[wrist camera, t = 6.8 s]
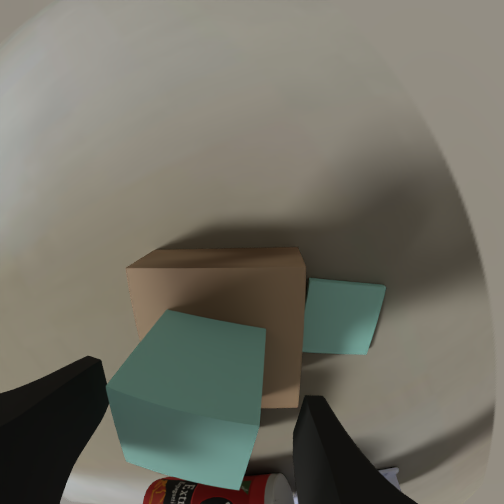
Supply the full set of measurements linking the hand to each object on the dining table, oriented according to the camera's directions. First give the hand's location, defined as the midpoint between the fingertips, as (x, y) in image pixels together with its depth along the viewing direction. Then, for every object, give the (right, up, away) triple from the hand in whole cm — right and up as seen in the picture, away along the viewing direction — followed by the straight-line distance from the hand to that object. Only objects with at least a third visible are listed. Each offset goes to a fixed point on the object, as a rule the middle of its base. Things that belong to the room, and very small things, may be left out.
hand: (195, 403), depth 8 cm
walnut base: (+1, +2, +6) cm, 6 cm away
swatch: (+6, +2, +5) cm, 9 cm away
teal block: (0, +1, +3) cm, 3 cm away
